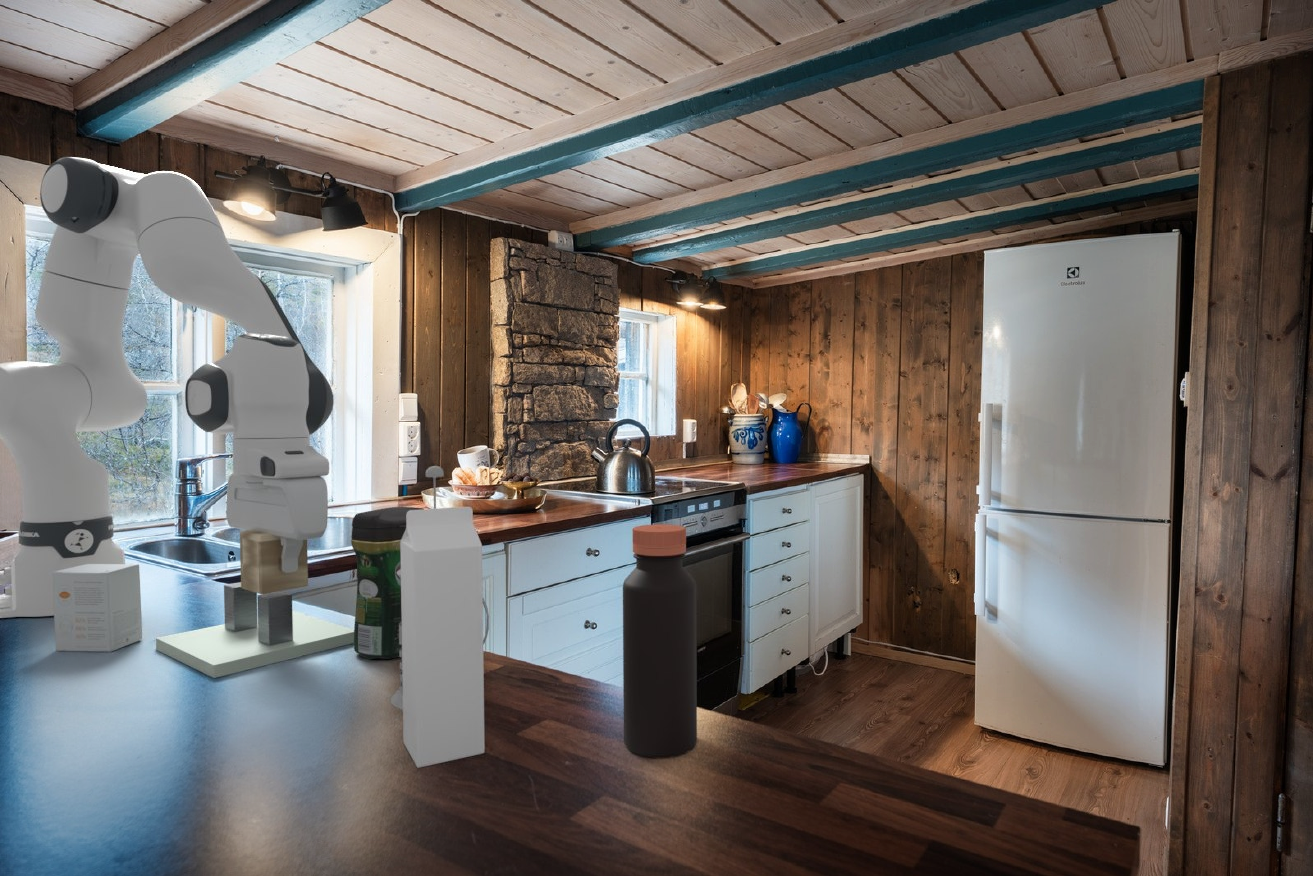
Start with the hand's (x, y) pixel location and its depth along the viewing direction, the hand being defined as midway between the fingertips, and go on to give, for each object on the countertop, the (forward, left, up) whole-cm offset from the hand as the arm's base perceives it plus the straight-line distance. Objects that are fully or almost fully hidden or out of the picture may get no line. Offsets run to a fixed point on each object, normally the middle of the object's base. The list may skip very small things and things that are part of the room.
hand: (274, 568), depth 99 cm
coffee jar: (+11, +10, -11) cm, 19 cm away
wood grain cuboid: (0, 0, -2) cm, 2 cm away
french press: (+30, +4, -11) cm, 32 cm away
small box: (-22, -13, -11) cm, 28 cm away
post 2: (0, 0, -11) cm, 11 cm away
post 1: (-10, 0, -11) cm, 15 cm away
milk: (+41, -4, -11) cm, 43 cm away
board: (-5, 0, -11) cm, 12 cm away
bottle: (+56, +9, -11) cm, 58 cm away
